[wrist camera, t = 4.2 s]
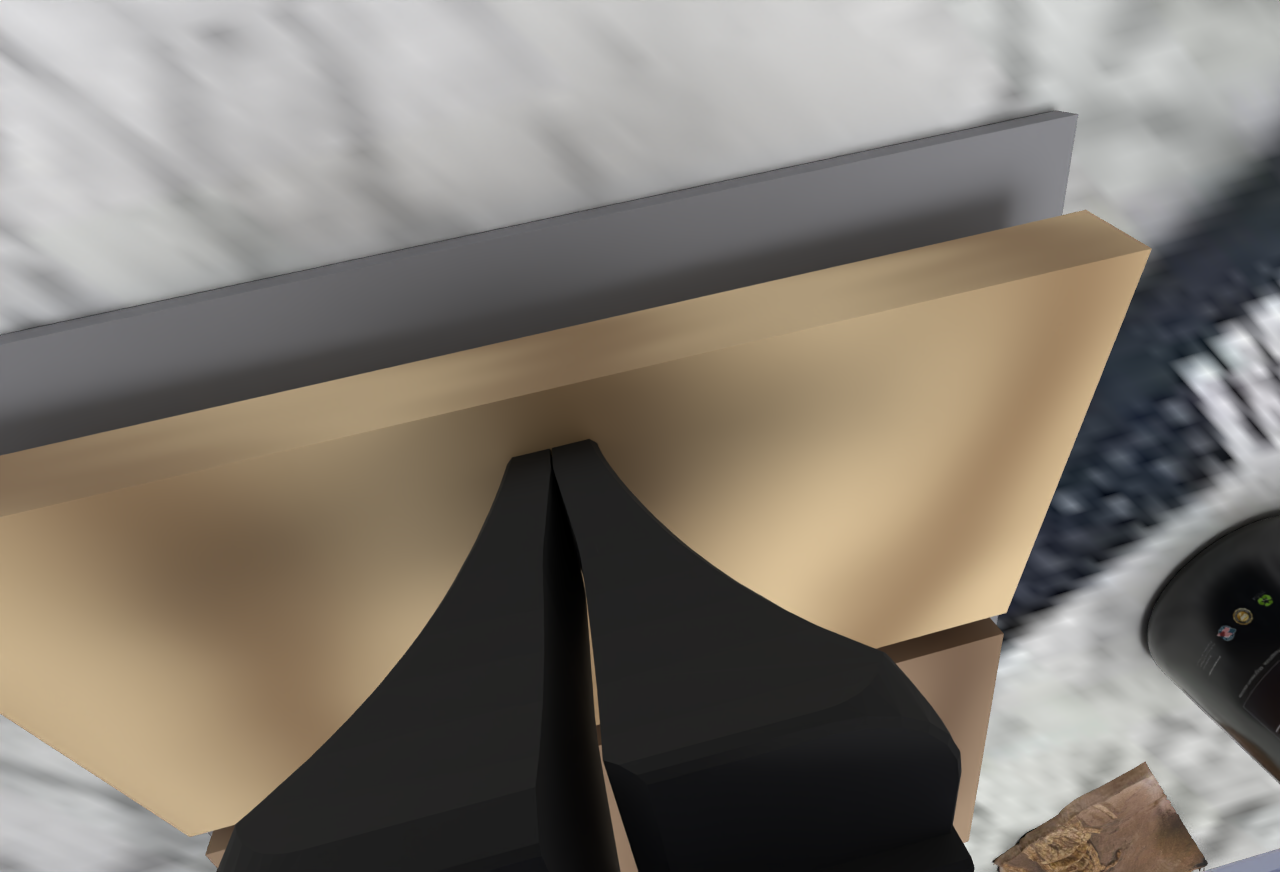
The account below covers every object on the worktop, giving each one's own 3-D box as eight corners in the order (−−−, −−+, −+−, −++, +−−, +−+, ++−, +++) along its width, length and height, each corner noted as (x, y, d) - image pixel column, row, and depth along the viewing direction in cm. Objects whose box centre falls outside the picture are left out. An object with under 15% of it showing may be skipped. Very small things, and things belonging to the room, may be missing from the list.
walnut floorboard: (368, 968, 23) (362, 1024, 22) (224, 794, 18) (205, 854, 16) (943, 799, 25) (968, 841, 23) (969, 593, 19) (1003, 633, 18)
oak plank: (205, 771, 17) (190, 837, 16) (-153, 490, 10) (-222, 568, 9) (972, 566, 19) (1006, 612, 18) (1086, 209, 12) (1151, 248, 11)
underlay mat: (351, 970, 24) (349, 990, 23) (-163, 369, 12) (-192, 385, 11) (957, 791, 26) (967, 806, 25) (1055, 110, 14) (1078, 114, 13)
